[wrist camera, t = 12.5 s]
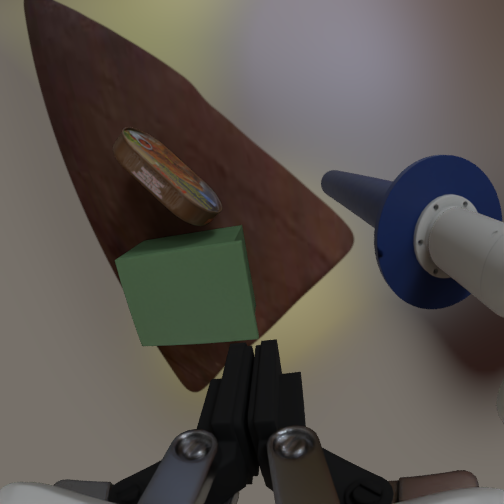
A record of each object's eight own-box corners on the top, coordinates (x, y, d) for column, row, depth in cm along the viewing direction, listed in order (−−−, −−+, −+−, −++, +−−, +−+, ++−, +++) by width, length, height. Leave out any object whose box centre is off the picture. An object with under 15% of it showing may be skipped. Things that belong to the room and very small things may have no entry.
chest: (241, 225, 39) (234, 240, 32) (255, 305, 42) (251, 335, 35) (143, 240, 41) (117, 258, 33) (163, 314, 44) (144, 342, 36)
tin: (228, 203, 38) (216, 215, 30) (212, 221, 39) (195, 238, 31) (144, 127, 36) (113, 121, 28) (130, 146, 37) (97, 144, 29)
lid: (241, 239, 32) (241, 241, 31) (258, 335, 35) (258, 338, 34) (117, 258, 33) (114, 260, 32) (144, 342, 36) (142, 346, 35)
